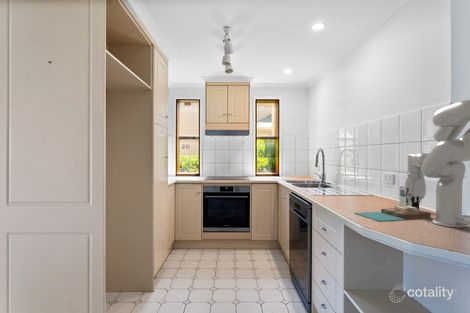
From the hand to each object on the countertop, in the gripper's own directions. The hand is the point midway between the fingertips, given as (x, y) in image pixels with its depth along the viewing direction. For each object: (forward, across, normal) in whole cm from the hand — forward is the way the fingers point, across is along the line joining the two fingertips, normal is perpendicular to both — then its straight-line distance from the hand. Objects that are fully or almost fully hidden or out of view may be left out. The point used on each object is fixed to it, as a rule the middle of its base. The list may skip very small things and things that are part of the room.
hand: (415, 209), depth 143 cm
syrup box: (+3, -11, -16) cm, 20 cm away
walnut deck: (+3, +7, 0) cm, 8 cm away
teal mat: (+3, +24, 0) cm, 24 cm away
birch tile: (+1, +6, 0) cm, 6 cm away
